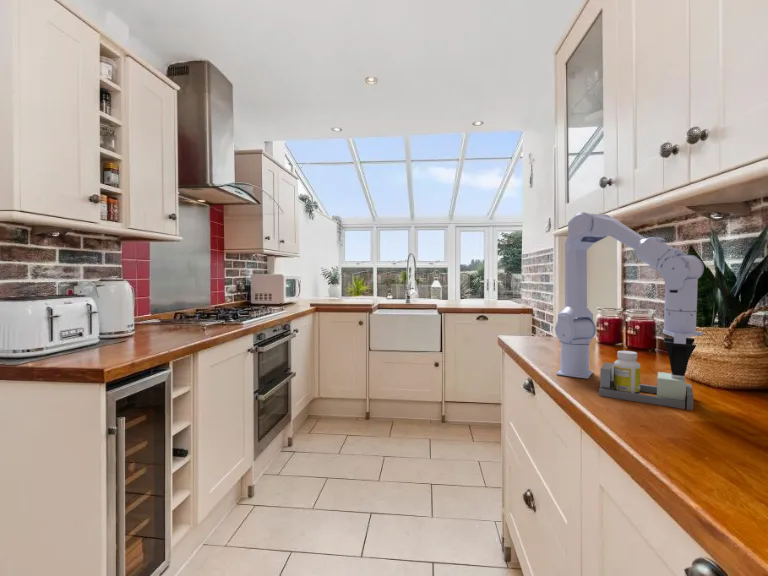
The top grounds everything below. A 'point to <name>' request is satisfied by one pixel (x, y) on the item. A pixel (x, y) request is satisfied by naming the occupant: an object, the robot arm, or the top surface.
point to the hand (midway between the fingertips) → (678, 372)
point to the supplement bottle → (626, 372)
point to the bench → (607, 390)
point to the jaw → (671, 386)
